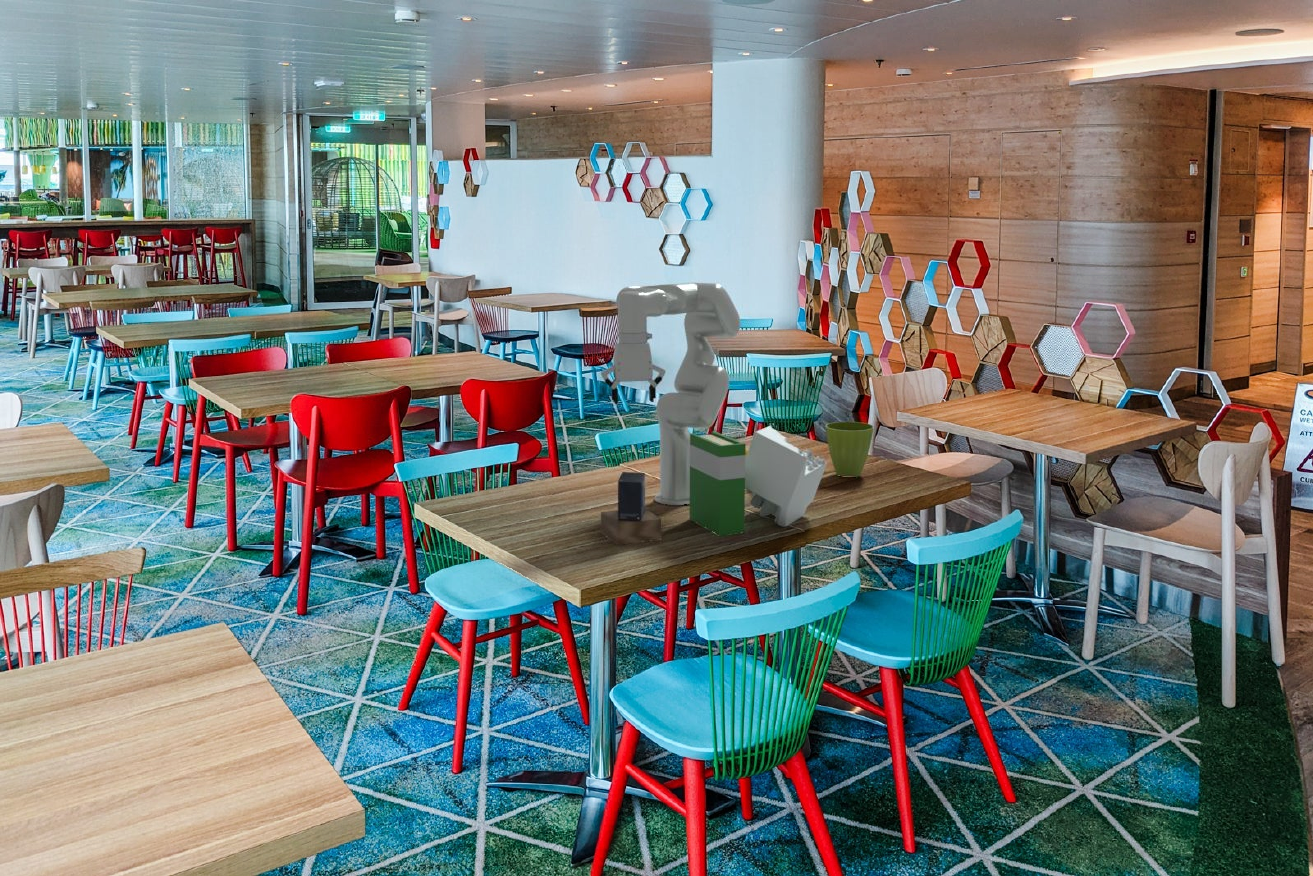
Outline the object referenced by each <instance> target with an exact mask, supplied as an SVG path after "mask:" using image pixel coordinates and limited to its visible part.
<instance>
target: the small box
mask: <svg viewBox="0 0 1313 876" xmlns="http://www.w3.org/2000/svg"><path fill="white" fill-rule="evenodd" d="M645 509H646V473H645V472H632V471H631V472H630V471H622V473H621V474H620V477H619V478H618V480H617V510H618V520H631V521H641V519H642V516H643V514H644V511H645Z"/></svg>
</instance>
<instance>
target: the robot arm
mask: <svg viewBox="0 0 1313 876" xmlns="http://www.w3.org/2000/svg"><path fill="white" fill-rule="evenodd" d="M615 303H616V308H617V329H618V330H617V331H618V335H617V336H618V337H617V338H618V342H616V343H615V346H614V353H613V365H611V366H610V367H608V368H606V369H604V370H602V371H601V372H600V375H601V377H602V378H603V381H604V382H605V384H606V385H608V387H610V388H611V401H613V403H614V405H617V404H619V389H618V386H619V384H620V383H621V382H623V383H624V382H625V383H627V382H628V383H629V382H648V383H649V384H650V385H649V387H648V395H649V396H648V400H649V401H650V402H651V403H654V400H655V399H656V398H657V395H656V393H657V392H656V391H657V390H656V389H657V386H659V384H660V383H661V381H663V378H664V376H665V374H666V369H664V368H662V367H660V366H657V364H654V363H653V360H652V359H653V358H652V350H651V346H650V342H648V341H649V340H650V339H653V333H649V332H648V330H647V322H648V321H647V318H650V317H651V318H656V317H657V318H658V317H661V316H663V315H665V316H666V315H667V316H670V315H671V316H674V315H675V316H676V315H681V314H685V316H684V320H683V326H684V331H685V338H686V344H687V345H686V347H687V350H686V352H685V355H684V357H683V359H682V361H681V364H680V366H679V368H678V370H677V373H676V375H675V377H674V378H675V379H674V381H673V383H674V385H673V386H674V390H675V391H676V392H668V393H664V394H662V395H661V396H660V397H659V398H658V400H657V404H656V415H657V420H658V427H659V442H660V444H659V445H660V447H659V448H660V449H659V454H660V455H659V464H660V465H659V472H660V473H659V479H660V480H659V486H660V487H659V489H660V490H659V493H657V494H655V496H654V501H655V502H656V503H658V504H662V505H666V504H667V506H685V505H684V504H687V505H690V434H691V431H690V429H688V428H692V429H701V430H705V429H708V428H711V427H712V426H713V425H714V423H715V421H716V420H717V417H718V415H719V414H720V413H719V412H720V410H721V408H722V406H723V404H724V401H725V399H726V397H727V394H728V391H729V386H730V377H729V373H728V371H727V370H726V369H725V368H724V367H722V366H720V365H719V366H718V365H714V362H715V359H716V356H715V355H716V354H715V352H714V350H713V347H712V346H711V344H710V342H709V340H708V338H716V339H717V338H719V339H731V338H735V337H736V336H737V334H738V333H739V332H740V328H741V318H740V314H739V312H738V310H737V308H736V306H735V304H734V302H733V300H732V299H731V297H730V295H729V293H728V291H727V290H726V289H725V288H724V287H723V286H722V285H721V284H718V283H714V282H713V283H712V282H711V283H710V282H708V283H707V282H685V283H684V282H682V283H669V284H667V283H666V284H658V285H641V286H626V287H624V288H622V289H621V290H620V291H619V292H618V293H617V296H616V301H615ZM654 371H655V372H658V375H657V376H656V377H655V379H653V376H654V375H653V374H654V373H653V372H654ZM611 373H613V378H614V379H613V380H610V378H609V377H608V376H609V374H611Z"/></svg>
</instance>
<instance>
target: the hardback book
mask: <svg viewBox="0 0 1313 876" xmlns="http://www.w3.org/2000/svg"><path fill="white" fill-rule="evenodd" d="M710 433H711V434H704V435H698V434H695V433H690V504H689V520H690V519H691V520H693V521H694V522H693V521H692V522H693V523H695V522H697V523H698V524H697V523H696V524H697V525H699V524H700V525H701V527H702V526H703V527H702V528H704V527H706V528H707V529H709V530H710V531H709V530H708V531H709V532H711V531H713V532H715V533H716V534H717V536H718V535H719V536H718V537H723V536H722V535H725V536H730V535H729V534H732V535H736V534H735V533H740V534H742V533H741V532H744V533H745V514H746V513H745V509H746V507H745V506H746V505H745V503H746V502H745V501H746V494H745V493H746V492H745V491H746V489H745V450H747V449H746V447H747V446H746V445H747V444H746V443H744V442H742V441H739V440H737V439H735V438H732V437H729V436H727V435H725V434H722V433H720V432H717V431H714V430H713V431H711V432H710ZM691 520H690V521H691ZM700 525H699V526H700ZM706 528H705V529H706ZM707 529H706V530H707ZM713 532H712V533H713ZM716 534H715V535H716Z"/></svg>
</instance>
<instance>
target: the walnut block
mask: <svg viewBox="0 0 1313 876" xmlns="http://www.w3.org/2000/svg"><path fill="white" fill-rule="evenodd" d="M600 534H602V535H603V536H604V535H605V537H606V536H607V537H608V538H607V537H606V538H607V539H609V540H610V541H611V540H612V541H611V542H612V543H614V542H615V543H616V544H615V543H614V544H615V545H617V546H624V545H623V544H625V545H630V544H629V543H633V544H638V543H637V542H641V543H643V542H642V541H649V542H651V541H650V540H657V541H661V540H662V518H661V517H659V516H658V515H656V514H654V513H653V512H651V511H650V510H648V509H646V508H645V511H644V514H643V516H642V519H641V521H631V520H618V509H617V510H611V511H610V510H609V511H601V512H600ZM660 539H661V540H660Z"/></svg>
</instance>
